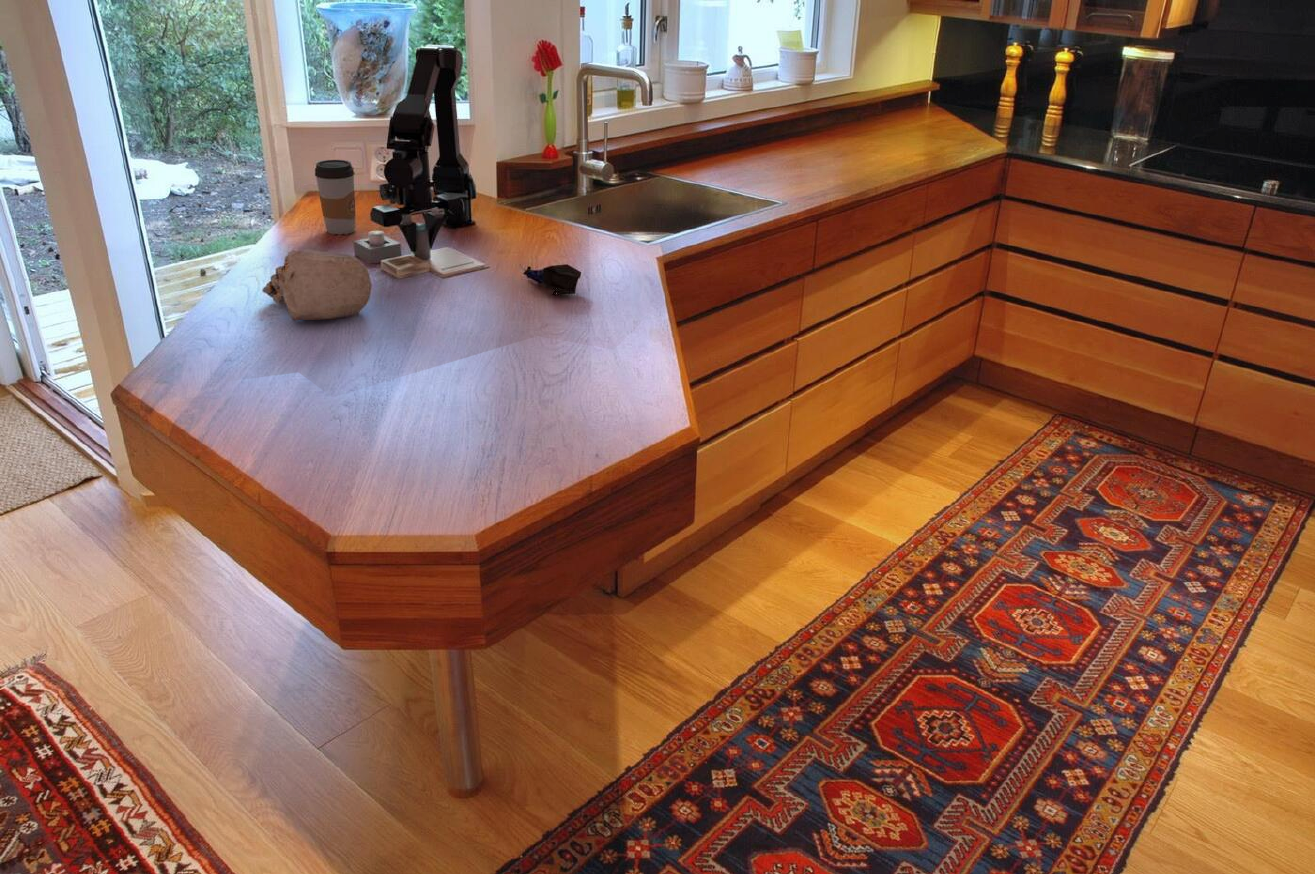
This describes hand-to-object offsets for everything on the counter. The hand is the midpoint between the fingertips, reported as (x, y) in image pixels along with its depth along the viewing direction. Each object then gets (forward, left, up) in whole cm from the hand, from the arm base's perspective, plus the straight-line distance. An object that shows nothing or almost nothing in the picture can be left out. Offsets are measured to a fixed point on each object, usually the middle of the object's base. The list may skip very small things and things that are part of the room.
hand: (421, 250), depth 208 cm
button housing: (+5, -9, -3) cm, 11 cm away
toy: (-12, +28, -3) cm, 31 cm away
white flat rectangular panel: (-4, +3, -3) cm, 6 cm away
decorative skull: (+29, +12, -3) cm, 31 cm away
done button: (+5, -9, -1) cm, 10 cm away
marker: (0, 0, -2) cm, 2 cm away
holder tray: (+5, +2, -3) cm, 6 cm away
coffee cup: (+3, -29, -3) cm, 29 cm away
